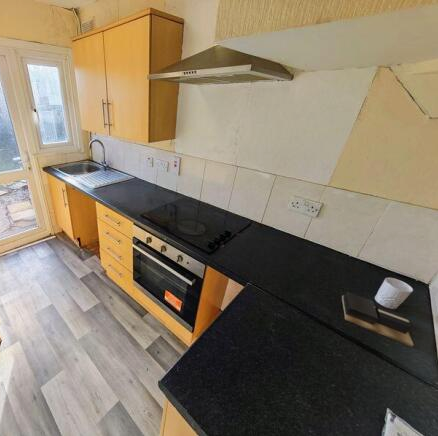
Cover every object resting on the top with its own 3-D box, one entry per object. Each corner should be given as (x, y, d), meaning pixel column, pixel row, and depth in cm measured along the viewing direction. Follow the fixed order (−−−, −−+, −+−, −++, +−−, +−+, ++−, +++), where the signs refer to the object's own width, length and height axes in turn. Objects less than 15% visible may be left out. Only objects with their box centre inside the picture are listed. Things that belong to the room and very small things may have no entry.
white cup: (402, 307, 91) (417, 289, 86) (392, 312, 88) (406, 294, 84) (379, 293, 97) (391, 275, 93) (368, 298, 95) (380, 280, 90)
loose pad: (400, 322, 83) (406, 315, 81) (405, 334, 79) (411, 327, 77) (372, 311, 87) (377, 305, 85) (375, 322, 82) (380, 315, 81)
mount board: (400, 318, 86) (406, 309, 84) (412, 346, 75) (420, 338, 73) (341, 296, 95) (346, 288, 93) (345, 319, 84) (350, 311, 82)
